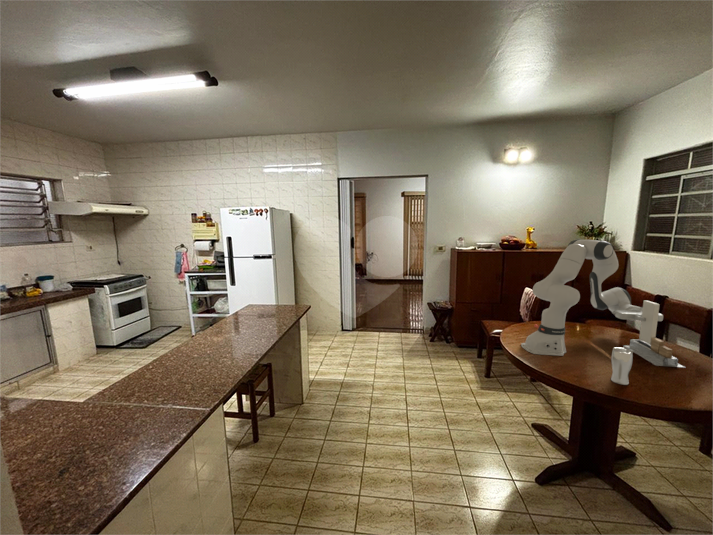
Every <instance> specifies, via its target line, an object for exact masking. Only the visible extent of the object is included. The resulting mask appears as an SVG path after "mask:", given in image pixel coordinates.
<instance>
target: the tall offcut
mask: <svg viewBox="0 0 713 535" xmlns="http://www.w3.org/2000/svg"><path fill="white" fill-rule="evenodd" d="M650 345H651V349H652V350H653V351H655V352H657V353H659V347H660V346H665V341H664V340H663V339H660V338H657V337H655V338H652V342H651V344H650Z"/></svg>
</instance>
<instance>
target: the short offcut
mask: <svg viewBox="0 0 713 535" xmlns="http://www.w3.org/2000/svg"><path fill="white" fill-rule="evenodd" d="M659 354H661V355H663V356H664V357H666V358H672V356H673V349H672V348H670V347H667V346H666V345H664V346H660V347H659Z"/></svg>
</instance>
